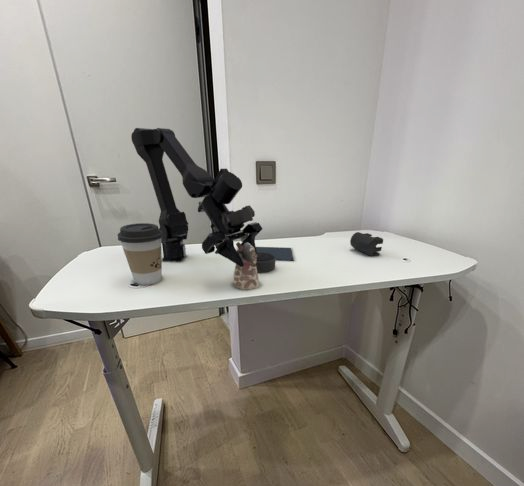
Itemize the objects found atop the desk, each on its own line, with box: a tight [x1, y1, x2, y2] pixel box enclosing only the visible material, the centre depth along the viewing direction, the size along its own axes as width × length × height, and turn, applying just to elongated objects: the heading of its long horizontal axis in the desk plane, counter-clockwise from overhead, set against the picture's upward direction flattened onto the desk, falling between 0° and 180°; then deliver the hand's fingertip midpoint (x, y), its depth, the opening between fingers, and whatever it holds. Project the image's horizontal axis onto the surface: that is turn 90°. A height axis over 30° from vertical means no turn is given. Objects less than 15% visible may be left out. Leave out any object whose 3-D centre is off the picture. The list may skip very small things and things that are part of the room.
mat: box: [239, 246, 295, 262], centre depth 106 cm, size 20×14×1 cm
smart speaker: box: [256, 253, 277, 273], centre depth 92 cm, size 9×9×4 cm
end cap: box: [349, 231, 384, 257], centre depth 109 cm, size 10×7×7 cm
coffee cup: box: [117, 222, 163, 286], centre depth 79 cm, size 11×11×15 cm
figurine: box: [233, 241, 260, 291], centre depth 79 cm, size 7×7×12 cm
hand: (250, 263), depth 78 cm, fingers closed on figurine, 6 cm apart
